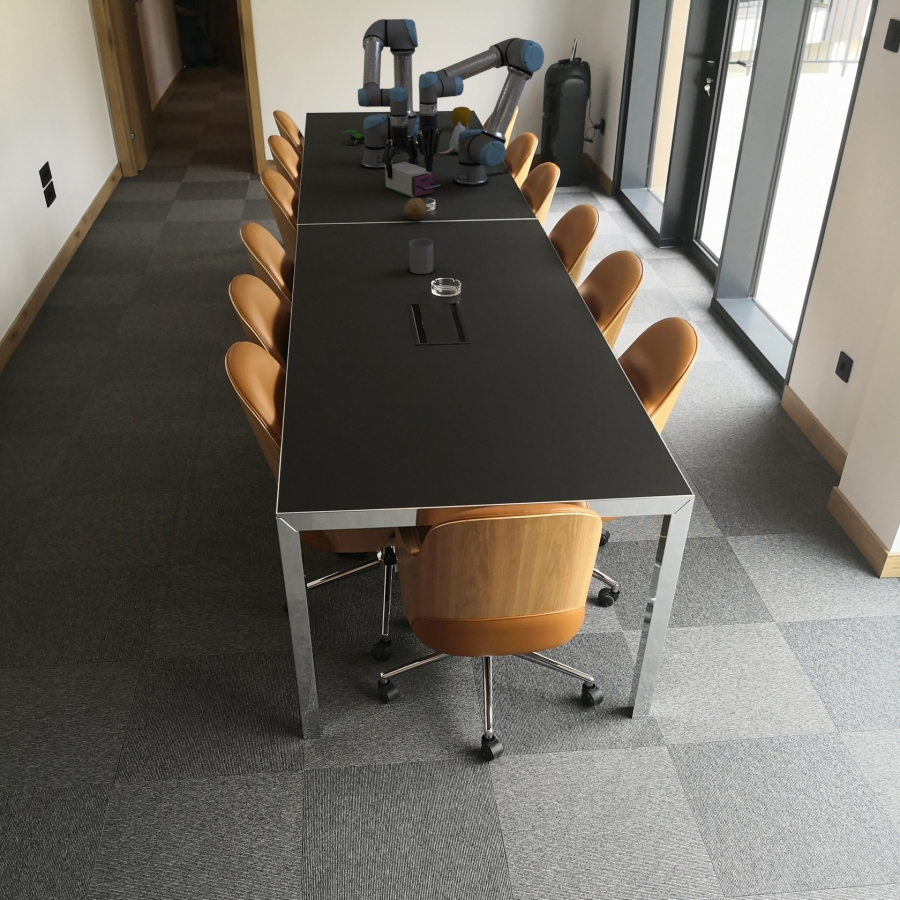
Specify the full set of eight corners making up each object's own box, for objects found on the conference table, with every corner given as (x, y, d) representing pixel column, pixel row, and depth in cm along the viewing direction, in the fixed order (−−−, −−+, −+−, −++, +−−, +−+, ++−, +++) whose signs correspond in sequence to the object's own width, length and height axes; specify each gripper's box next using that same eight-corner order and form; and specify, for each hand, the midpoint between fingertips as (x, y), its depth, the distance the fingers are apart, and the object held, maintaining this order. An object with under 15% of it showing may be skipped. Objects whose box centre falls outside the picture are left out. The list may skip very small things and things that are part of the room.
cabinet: (430, 192, 388) (430, 170, 383) (410, 197, 382) (410, 174, 377) (405, 183, 400) (405, 161, 395) (385, 188, 394) (384, 165, 389)
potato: (426, 213, 362) (426, 194, 358) (428, 224, 351) (428, 204, 346) (403, 213, 362) (402, 194, 358) (404, 224, 350) (403, 205, 346)
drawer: (441, 195, 382) (441, 177, 377) (423, 199, 376) (423, 181, 372) (409, 183, 397) (409, 166, 393) (392, 187, 391) (391, 169, 387)
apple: (471, 132, 486) (471, 108, 479) (451, 132, 486) (451, 108, 479) (470, 128, 495) (471, 104, 488) (452, 128, 495) (452, 104, 488)
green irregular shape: (396, 126, 467) (340, 124, 465) (396, 141, 460) (339, 139, 458) (396, 136, 472) (341, 134, 470) (396, 151, 465) (340, 149, 463)
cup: (409, 265, 311) (408, 238, 306) (432, 265, 312) (431, 238, 307) (410, 274, 304) (409, 246, 299) (433, 273, 305) (433, 246, 299)
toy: (474, 152, 449) (475, 122, 441) (443, 160, 434) (443, 129, 426) (462, 149, 454) (462, 119, 446) (430, 157, 439) (430, 126, 431)
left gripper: (382, 131, 371) (384, 182, 383) (425, 123, 384) (426, 173, 396) (372, 127, 376) (374, 178, 388) (415, 120, 389) (416, 169, 401)
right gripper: (421, 117, 356) (422, 175, 369) (446, 113, 363) (446, 170, 376) (410, 114, 361) (411, 172, 374) (434, 110, 368) (435, 167, 381)
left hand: (400, 176), depth 392 cm, fingers closed on cabinet, 11 cm apart
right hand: (429, 171), depth 375 cm, fingers closed
